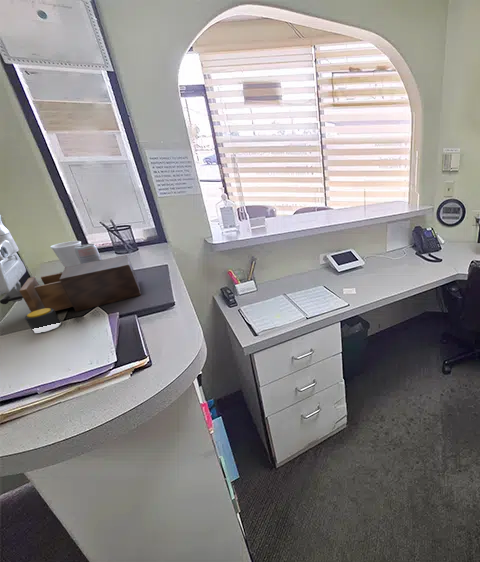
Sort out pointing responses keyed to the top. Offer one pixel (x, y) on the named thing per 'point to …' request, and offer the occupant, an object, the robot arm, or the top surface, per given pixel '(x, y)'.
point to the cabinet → (100, 282)
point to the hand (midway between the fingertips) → (19, 299)
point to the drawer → (43, 294)
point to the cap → (42, 318)
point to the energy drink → (87, 253)
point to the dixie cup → (67, 252)
